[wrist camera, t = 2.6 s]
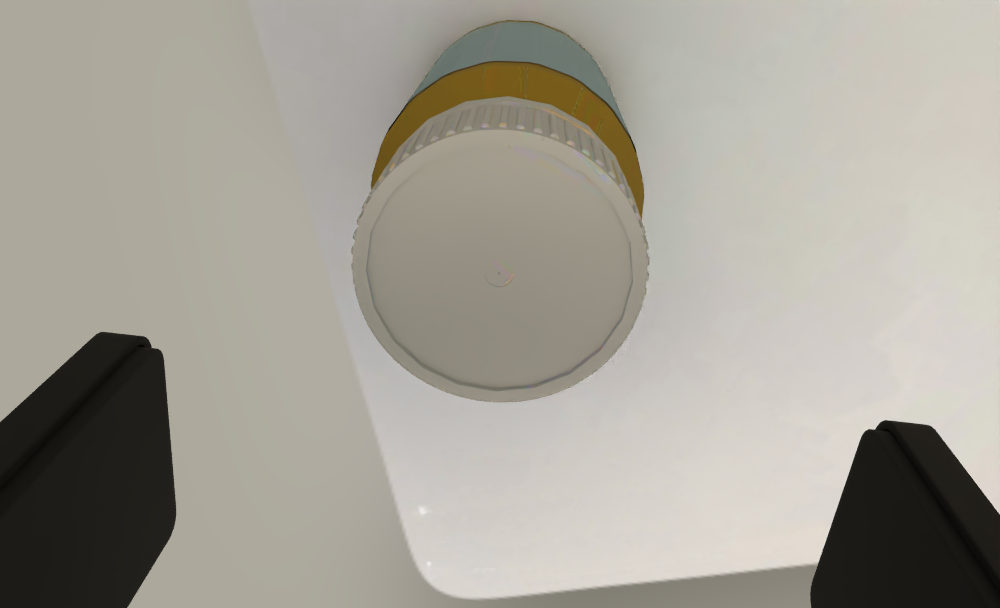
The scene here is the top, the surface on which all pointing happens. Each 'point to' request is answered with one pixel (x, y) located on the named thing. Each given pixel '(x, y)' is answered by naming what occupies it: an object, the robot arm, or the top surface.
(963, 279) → the top surface
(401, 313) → the bottle
